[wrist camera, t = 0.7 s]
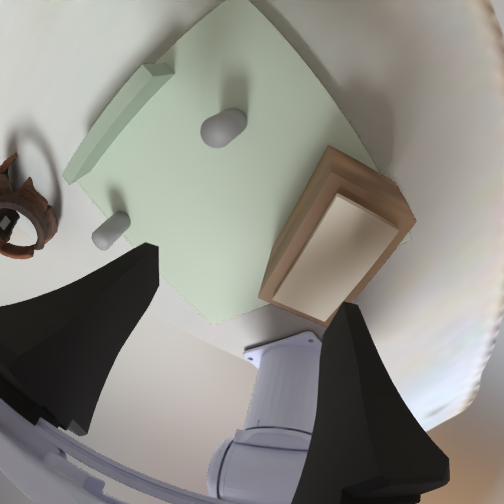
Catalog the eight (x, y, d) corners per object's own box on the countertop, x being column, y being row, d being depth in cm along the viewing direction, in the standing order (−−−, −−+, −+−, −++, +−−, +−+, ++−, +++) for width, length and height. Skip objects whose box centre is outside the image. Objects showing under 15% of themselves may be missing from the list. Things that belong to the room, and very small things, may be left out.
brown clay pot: (24, 126, 20) (-10, 174, 15) (87, 178, 27) (73, 234, 22) (-20, 198, 23) (-45, 251, 17) (34, 236, 30) (20, 290, 25)
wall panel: (408, 229, 18) (423, 267, 15) (216, 316, 27) (201, 352, 23) (243, -5, 12) (221, -25, 8) (78, 167, 21) (44, 189, 17)
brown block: (395, 182, 15) (419, 225, 11) (329, 277, 20) (327, 332, 16) (328, 144, 15) (331, 174, 11) (271, 250, 20) (256, 303, 16)
